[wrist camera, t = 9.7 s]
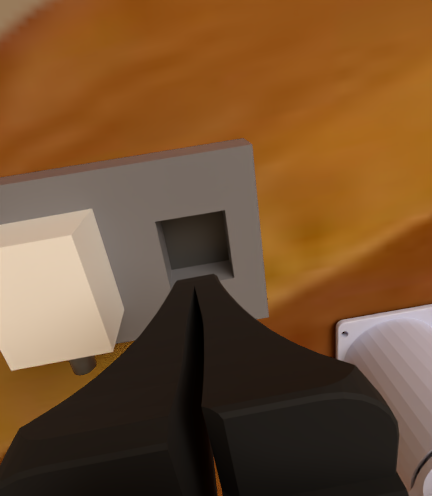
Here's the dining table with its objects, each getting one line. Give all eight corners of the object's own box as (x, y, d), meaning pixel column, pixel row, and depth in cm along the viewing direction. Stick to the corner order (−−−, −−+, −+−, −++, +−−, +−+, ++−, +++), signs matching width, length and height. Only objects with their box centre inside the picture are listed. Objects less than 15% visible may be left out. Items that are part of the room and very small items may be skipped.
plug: (137, 317, 22) (124, 383, 17) (62, 331, 22) (27, 401, 17) (100, 197, 19) (71, 234, 14) (12, 212, 19) (-50, 256, 14)
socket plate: (260, 294, 23) (268, 316, 21) (47, 331, 22) (32, 358, 20) (243, 138, 19) (252, 144, 16) (-17, 180, 18) (-45, 192, 16)
